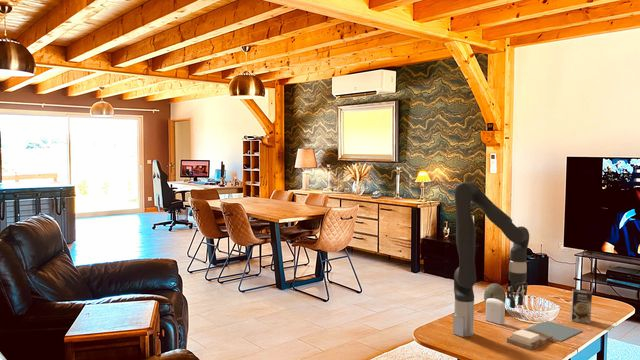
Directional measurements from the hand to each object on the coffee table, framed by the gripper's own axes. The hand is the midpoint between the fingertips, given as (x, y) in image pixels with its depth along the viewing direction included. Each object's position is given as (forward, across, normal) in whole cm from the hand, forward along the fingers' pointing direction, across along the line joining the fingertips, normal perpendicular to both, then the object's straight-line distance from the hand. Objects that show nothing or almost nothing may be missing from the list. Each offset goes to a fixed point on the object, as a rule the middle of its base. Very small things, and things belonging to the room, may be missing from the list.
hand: (516, 306), depth 239 cm
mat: (+20, +35, 0) cm, 40 cm away
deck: (+20, +13, 0) cm, 23 cm away
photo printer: (+20, +23, +26) cm, 40 cm away
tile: (+18, +9, 0) cm, 20 cm away
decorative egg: (+20, +41, +38) cm, 59 cm away
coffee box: (+20, +61, -2) cm, 64 cm away
